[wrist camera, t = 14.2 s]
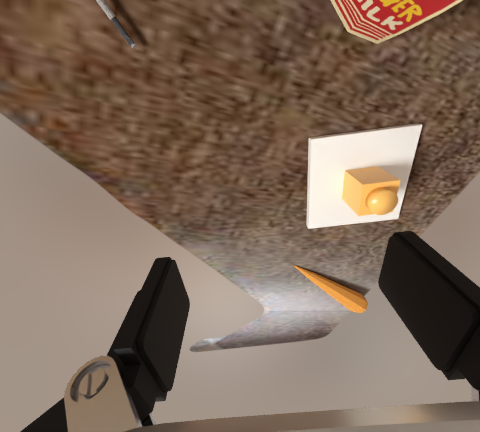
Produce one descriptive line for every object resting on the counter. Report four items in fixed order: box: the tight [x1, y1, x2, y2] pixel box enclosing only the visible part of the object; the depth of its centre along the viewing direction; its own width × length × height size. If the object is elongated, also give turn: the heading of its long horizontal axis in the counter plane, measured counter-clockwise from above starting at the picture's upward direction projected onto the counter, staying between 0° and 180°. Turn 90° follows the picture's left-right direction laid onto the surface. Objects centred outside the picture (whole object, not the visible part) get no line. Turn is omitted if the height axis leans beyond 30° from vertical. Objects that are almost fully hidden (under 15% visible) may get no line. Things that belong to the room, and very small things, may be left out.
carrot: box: [294, 265, 368, 313], centre depth 49 cm, size 20×4×4 cm, turn 57°
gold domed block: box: [342, 166, 401, 216], centre depth 34 cm, size 5×5×8 cm
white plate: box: [307, 123, 422, 229], centre depth 36 cm, size 16×16×6 cm
